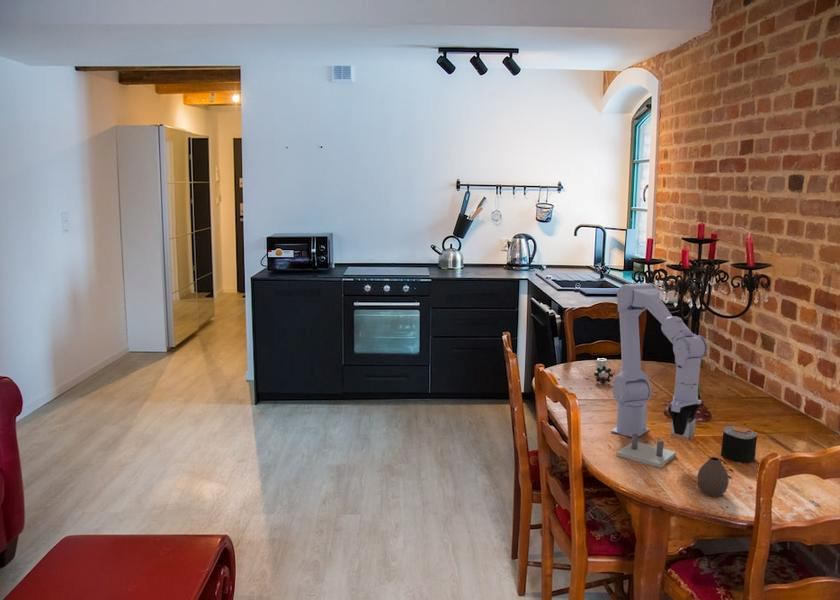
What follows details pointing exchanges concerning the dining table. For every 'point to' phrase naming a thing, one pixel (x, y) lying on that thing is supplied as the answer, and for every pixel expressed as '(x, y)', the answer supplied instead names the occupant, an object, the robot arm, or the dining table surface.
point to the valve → (602, 370)
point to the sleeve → (688, 430)
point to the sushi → (739, 444)
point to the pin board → (646, 452)
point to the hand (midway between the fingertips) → (682, 431)
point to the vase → (713, 478)
